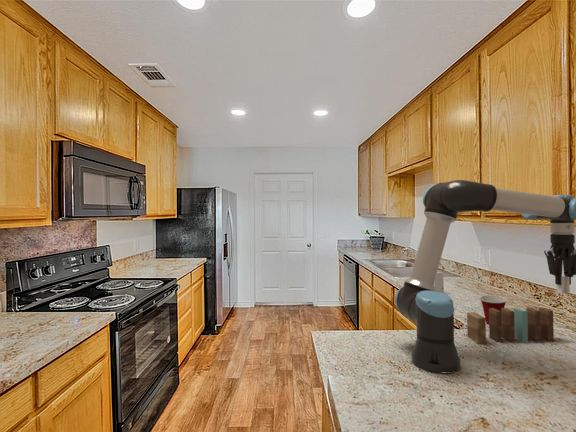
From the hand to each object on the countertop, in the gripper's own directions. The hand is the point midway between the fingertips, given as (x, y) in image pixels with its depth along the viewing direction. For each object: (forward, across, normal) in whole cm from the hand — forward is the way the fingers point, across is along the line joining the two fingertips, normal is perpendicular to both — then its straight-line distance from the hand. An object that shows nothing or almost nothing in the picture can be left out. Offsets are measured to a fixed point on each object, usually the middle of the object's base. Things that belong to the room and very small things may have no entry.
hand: (563, 292), depth 134 cm
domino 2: (+18, -22, 0) cm, 29 cm away
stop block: (+18, -35, 0) cm, 39 cm away
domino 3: (+18, -17, 0) cm, 25 cm away
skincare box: (+19, -20, +73) cm, 78 cm away
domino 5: (+18, -7, 0) cm, 20 cm away
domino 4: (+18, -12, 0) cm, 22 cm away
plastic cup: (+19, -17, +19) cm, 32 cm away
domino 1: (+18, -27, 0) cm, 33 cm away
